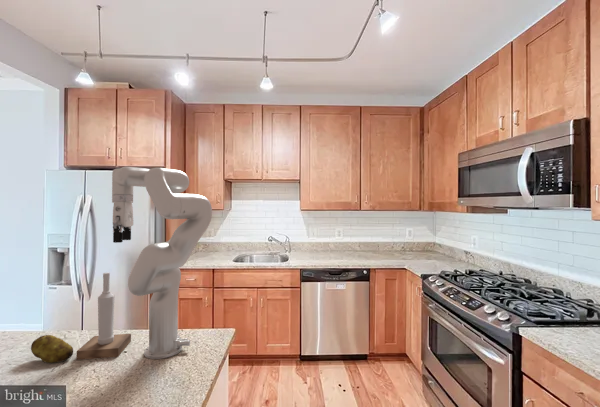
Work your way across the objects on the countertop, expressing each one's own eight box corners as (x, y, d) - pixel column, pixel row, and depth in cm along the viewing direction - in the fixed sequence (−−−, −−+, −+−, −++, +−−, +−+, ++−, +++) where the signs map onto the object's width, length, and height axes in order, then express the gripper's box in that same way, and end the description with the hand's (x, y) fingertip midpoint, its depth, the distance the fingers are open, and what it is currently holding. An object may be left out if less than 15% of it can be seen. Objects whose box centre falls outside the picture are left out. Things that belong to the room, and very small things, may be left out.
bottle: (102, 339, 117) (102, 271, 118) (116, 338, 118) (117, 271, 118) (94, 345, 112) (95, 274, 113) (109, 344, 113) (110, 274, 113)
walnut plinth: (130, 341, 123) (130, 333, 123) (118, 356, 110) (118, 348, 110) (94, 344, 120) (94, 336, 120) (76, 360, 108) (76, 351, 108)
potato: (49, 369, 101) (49, 344, 101) (26, 362, 106) (26, 338, 106) (76, 358, 109) (76, 335, 109) (53, 351, 114) (53, 329, 114)
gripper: (125, 198, 121) (124, 243, 121) (139, 199, 138) (139, 239, 138) (103, 198, 120) (103, 243, 119) (120, 199, 137) (120, 239, 136)
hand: (122, 241), depth 129 cm, fingers open, 9 cm apart
